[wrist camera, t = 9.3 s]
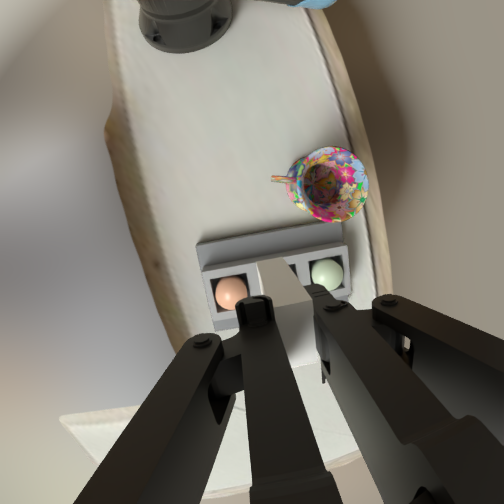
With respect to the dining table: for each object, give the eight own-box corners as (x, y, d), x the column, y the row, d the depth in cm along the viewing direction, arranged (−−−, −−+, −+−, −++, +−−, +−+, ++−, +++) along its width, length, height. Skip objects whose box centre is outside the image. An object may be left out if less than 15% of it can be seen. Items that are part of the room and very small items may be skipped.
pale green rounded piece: (306, 258, 45) (312, 264, 42) (334, 253, 45) (341, 258, 42) (309, 286, 46) (315, 293, 43) (336, 280, 46) (344, 287, 43)
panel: (196, 243, 46) (193, 250, 41) (336, 218, 47) (348, 222, 42) (215, 326, 49) (214, 340, 44) (344, 300, 50) (355, 312, 45)
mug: (342, 158, 45) (371, 152, 34) (337, 216, 46) (365, 225, 36) (266, 149, 44) (276, 138, 33) (261, 210, 46) (271, 217, 35)
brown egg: (213, 275, 45) (212, 283, 41) (243, 270, 45) (244, 277, 42) (219, 302, 46) (219, 312, 42) (248, 297, 46) (249, 306, 43)
